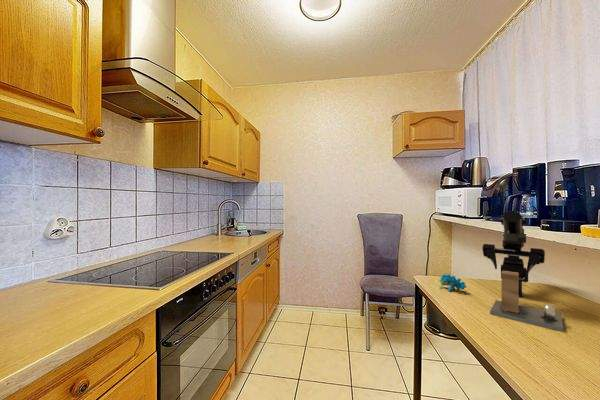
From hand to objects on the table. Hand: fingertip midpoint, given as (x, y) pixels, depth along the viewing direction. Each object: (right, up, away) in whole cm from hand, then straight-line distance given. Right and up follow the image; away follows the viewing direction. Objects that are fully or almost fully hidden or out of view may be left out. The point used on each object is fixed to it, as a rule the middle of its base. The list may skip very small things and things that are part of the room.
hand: (511, 270), depth 97 cm
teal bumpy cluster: (-11, -14, +19) cm, 26 cm away
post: (-5, -12, -6) cm, 14 cm away
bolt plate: (-2, -13, -8) cm, 16 cm away
